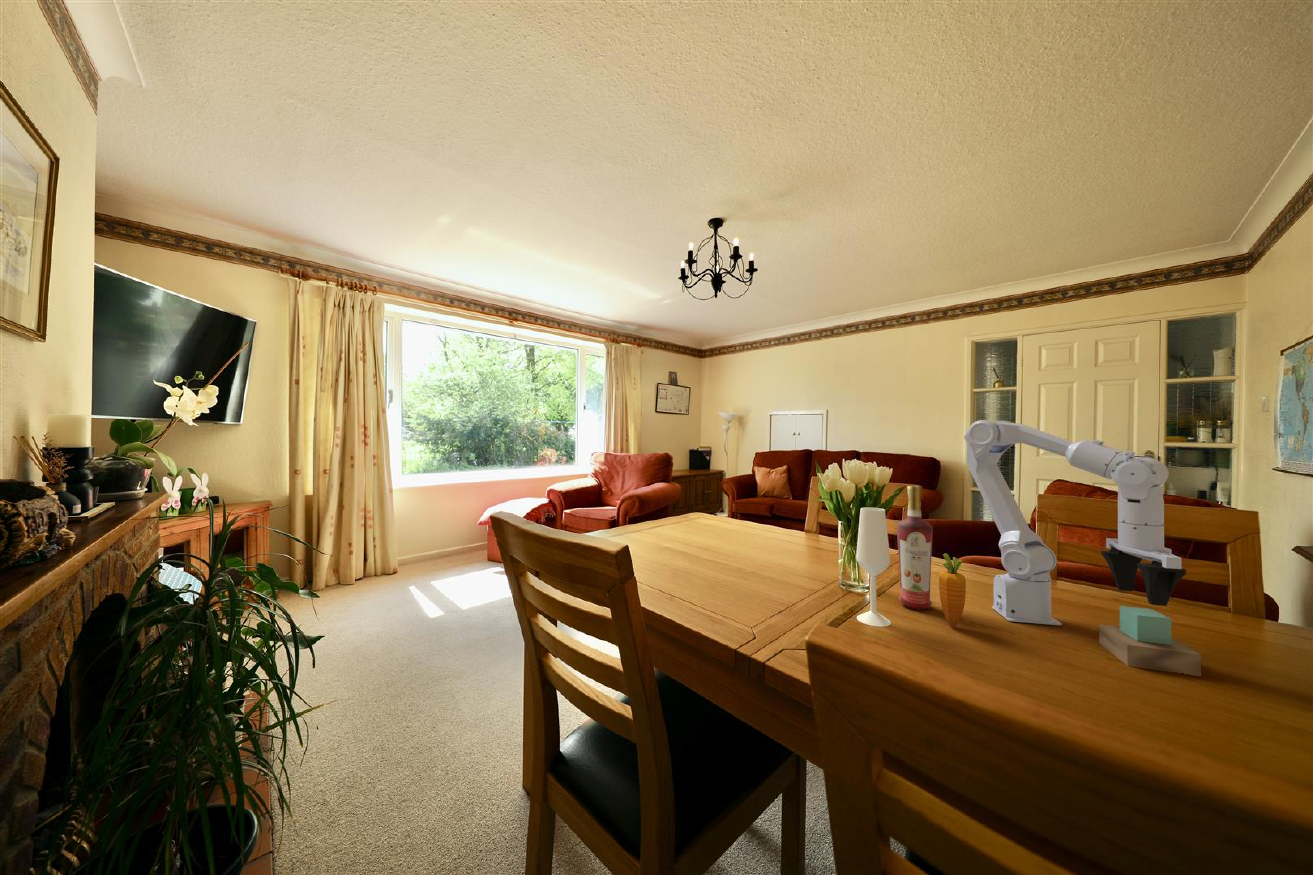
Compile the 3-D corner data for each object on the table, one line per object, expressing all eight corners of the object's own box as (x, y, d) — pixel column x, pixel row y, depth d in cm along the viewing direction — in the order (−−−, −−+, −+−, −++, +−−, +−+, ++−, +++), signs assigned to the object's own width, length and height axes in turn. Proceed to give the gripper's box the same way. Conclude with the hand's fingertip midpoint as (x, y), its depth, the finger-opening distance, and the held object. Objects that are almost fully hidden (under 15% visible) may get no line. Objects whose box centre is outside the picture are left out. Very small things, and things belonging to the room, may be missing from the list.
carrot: (972, 633, 88) (971, 558, 89) (944, 631, 89) (943, 557, 90) (960, 623, 93) (959, 552, 93) (934, 621, 94) (933, 551, 94)
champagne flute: (873, 612, 100) (872, 506, 100) (898, 624, 93) (897, 510, 93) (849, 616, 98) (848, 507, 98) (873, 628, 91) (872, 512, 91)
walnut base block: (1127, 667, 76) (1127, 644, 76) (1099, 645, 84) (1099, 624, 84) (1200, 678, 72) (1200, 654, 72) (1163, 653, 81) (1163, 631, 81)
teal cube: (1137, 640, 77) (1137, 615, 77) (1119, 630, 81) (1119, 605, 81) (1171, 644, 76) (1171, 618, 76) (1151, 633, 80) (1151, 608, 80)
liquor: (899, 609, 101) (898, 487, 101) (895, 598, 108) (894, 484, 108) (936, 614, 98) (935, 488, 98) (930, 602, 105) (929, 485, 105)
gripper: (1205, 532, 73) (1205, 614, 73) (1137, 517, 87) (1137, 586, 87) (1150, 530, 75) (1151, 610, 75) (1093, 515, 89) (1093, 583, 89)
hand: (1140, 597), depth 81 cm, fingers open, 7 cm apart
